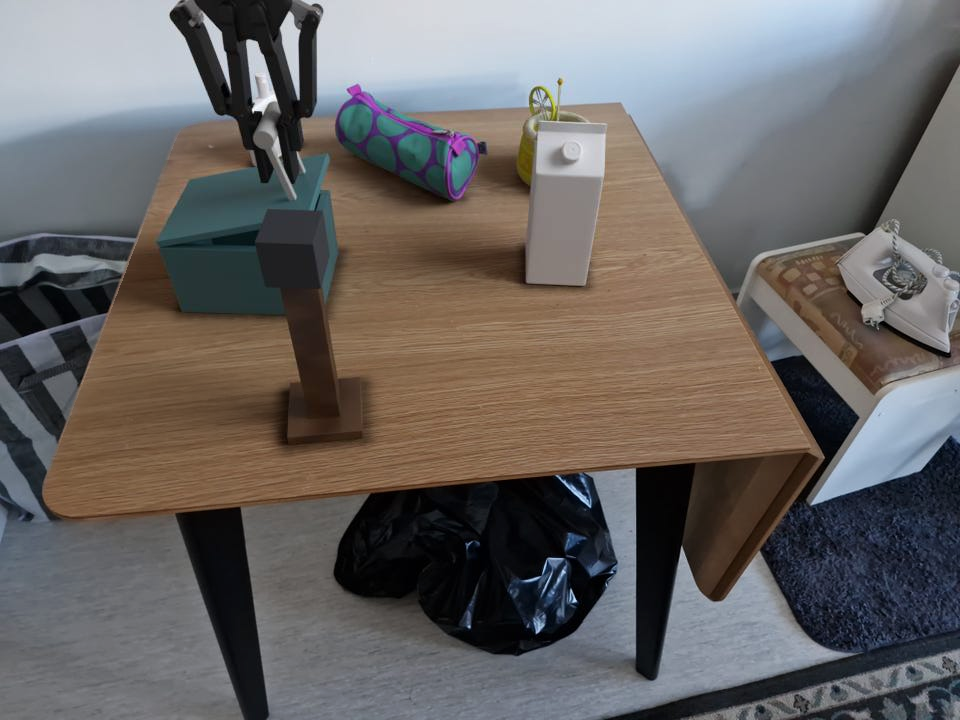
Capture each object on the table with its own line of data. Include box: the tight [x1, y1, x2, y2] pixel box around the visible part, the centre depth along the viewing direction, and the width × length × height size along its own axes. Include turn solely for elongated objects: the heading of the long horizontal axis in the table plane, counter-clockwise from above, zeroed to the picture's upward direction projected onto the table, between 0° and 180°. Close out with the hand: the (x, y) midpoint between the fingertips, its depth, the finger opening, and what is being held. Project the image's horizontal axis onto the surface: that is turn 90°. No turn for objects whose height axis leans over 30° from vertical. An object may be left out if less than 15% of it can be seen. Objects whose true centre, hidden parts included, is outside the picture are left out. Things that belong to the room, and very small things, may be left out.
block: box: [255, 209, 330, 289], centre depth 57 cm, size 4×4×4 cm
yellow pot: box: [516, 77, 591, 187], centre depth 99 cm, size 13×11×12 cm
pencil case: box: [334, 83, 488, 202], centre depth 99 cm, size 21×9×10 cm, turn 54°
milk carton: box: [525, 121, 608, 287], centre depth 82 cm, size 7×7×19 cm
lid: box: [155, 101, 331, 248], centre depth 74 cm, size 17×12×9 cm
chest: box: [158, 189, 340, 316], centre depth 82 cm, size 16×12×9 cm
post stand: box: [280, 287, 364, 446], centre depth 65 cm, size 7×7×18 cm
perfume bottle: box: [249, 71, 282, 167], centre depth 101 cm, size 8×2×12 cm, turn 149°
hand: (280, 176), depth 75 cm, fingers closed on lid, 2 cm apart
